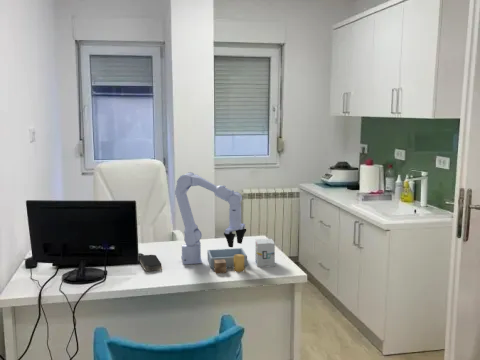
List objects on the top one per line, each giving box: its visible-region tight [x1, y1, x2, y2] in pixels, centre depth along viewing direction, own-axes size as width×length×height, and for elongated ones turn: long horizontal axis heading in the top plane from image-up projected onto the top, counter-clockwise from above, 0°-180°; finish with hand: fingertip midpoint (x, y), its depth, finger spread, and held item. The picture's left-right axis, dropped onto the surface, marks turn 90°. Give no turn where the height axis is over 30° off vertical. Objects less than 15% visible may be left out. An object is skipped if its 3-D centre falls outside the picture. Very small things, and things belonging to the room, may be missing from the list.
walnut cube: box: [213, 259, 227, 274], centre depth 228 cm, size 5×5×5 cm
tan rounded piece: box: [233, 254, 245, 273], centre depth 229 cm, size 5×5×7 cm
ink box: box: [255, 238, 276, 268], centre depth 237 cm, size 8×8×12 cm
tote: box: [206, 247, 248, 269], centre depth 240 cm, size 18×14×5 cm
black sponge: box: [139, 254, 163, 272], centre depth 235 cm, size 16×8×4 cm, turn 21°
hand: (235, 245), depth 236 cm, fingers open, 7 cm apart
